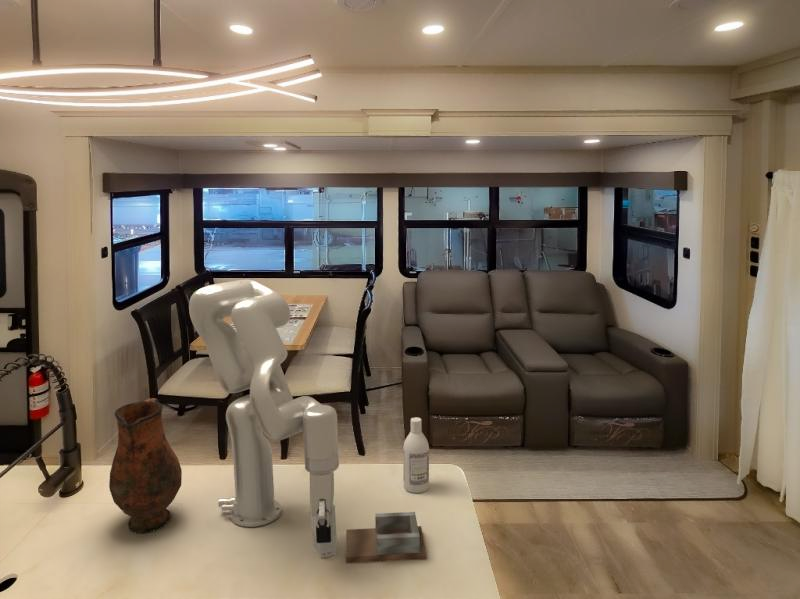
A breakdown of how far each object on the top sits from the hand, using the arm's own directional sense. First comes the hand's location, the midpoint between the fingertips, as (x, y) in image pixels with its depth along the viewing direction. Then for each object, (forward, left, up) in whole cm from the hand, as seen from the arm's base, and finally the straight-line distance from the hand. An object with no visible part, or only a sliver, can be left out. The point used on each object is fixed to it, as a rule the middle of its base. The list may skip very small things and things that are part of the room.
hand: (324, 530), depth 147 cm
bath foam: (+24, +27, -5) cm, 37 cm away
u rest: (+14, 0, -5) cm, 15 cm away
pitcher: (-44, +18, -5) cm, 48 cm away
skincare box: (0, 0, -5) cm, 5 cm away
